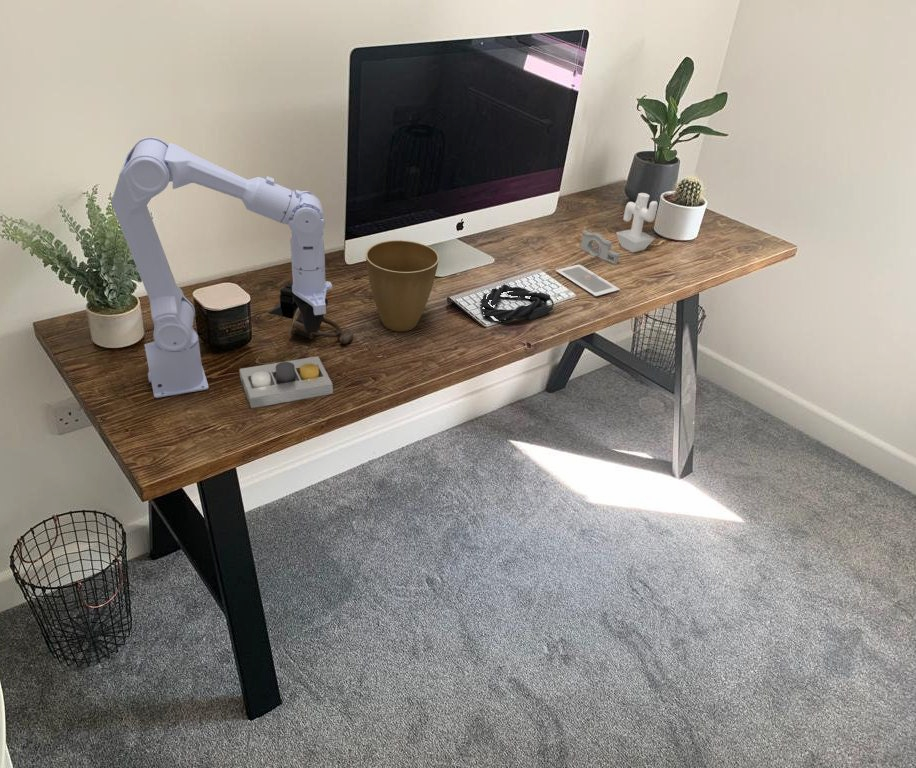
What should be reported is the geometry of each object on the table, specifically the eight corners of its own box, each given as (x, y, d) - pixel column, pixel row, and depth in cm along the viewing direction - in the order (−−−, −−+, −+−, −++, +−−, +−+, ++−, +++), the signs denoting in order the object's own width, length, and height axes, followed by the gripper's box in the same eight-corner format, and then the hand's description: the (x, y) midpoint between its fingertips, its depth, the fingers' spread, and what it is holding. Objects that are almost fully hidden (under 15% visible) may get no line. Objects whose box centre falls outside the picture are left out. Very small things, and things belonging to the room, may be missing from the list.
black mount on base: (290, 291, 182) (289, 272, 180) (321, 298, 181) (321, 278, 178) (261, 317, 172) (259, 297, 169) (294, 325, 170) (293, 304, 167)
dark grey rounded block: (278, 386, 148) (277, 373, 146) (274, 377, 150) (273, 363, 148) (297, 383, 149) (296, 370, 147) (292, 374, 151) (291, 360, 150)
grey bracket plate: (618, 264, 205) (622, 242, 202) (614, 266, 204) (618, 244, 201) (582, 247, 212) (586, 226, 209) (578, 249, 211) (581, 228, 208)
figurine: (630, 239, 219) (640, 185, 211) (655, 252, 213) (667, 198, 204) (610, 243, 215) (620, 189, 207) (635, 257, 209) (646, 202, 201)
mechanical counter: (312, 295, 169) (279, 302, 161) (360, 308, 164) (328, 317, 155) (310, 327, 172) (278, 337, 164) (358, 342, 166) (327, 352, 158)
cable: (501, 333, 172) (503, 315, 170) (461, 306, 181) (462, 289, 179) (559, 313, 182) (561, 296, 179) (518, 289, 190) (520, 272, 188)
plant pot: (353, 330, 169) (352, 261, 160) (384, 301, 180) (385, 234, 171) (418, 347, 165) (421, 277, 156) (445, 316, 176) (450, 249, 167)
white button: (254, 396, 147) (253, 383, 145) (250, 386, 149) (249, 373, 147) (273, 393, 148) (272, 379, 146) (269, 383, 150) (268, 370, 149)
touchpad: (595, 300, 189) (596, 292, 187) (554, 274, 199) (555, 266, 197) (619, 293, 192) (621, 285, 191) (578, 268, 202) (579, 260, 201)
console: (251, 408, 144) (250, 398, 142) (240, 378, 151) (239, 368, 150) (332, 393, 149) (332, 383, 148) (318, 365, 157) (318, 356, 155)
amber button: (303, 388, 150) (302, 374, 148) (298, 378, 152) (298, 365, 151) (321, 384, 151) (320, 371, 149) (316, 375, 154) (315, 362, 152)
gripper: (342, 278, 137) (343, 347, 144) (319, 244, 148) (322, 309, 155) (301, 284, 134) (305, 353, 142) (281, 248, 145) (286, 314, 153)
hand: (311, 330), depth 148 cm, fingers closed
